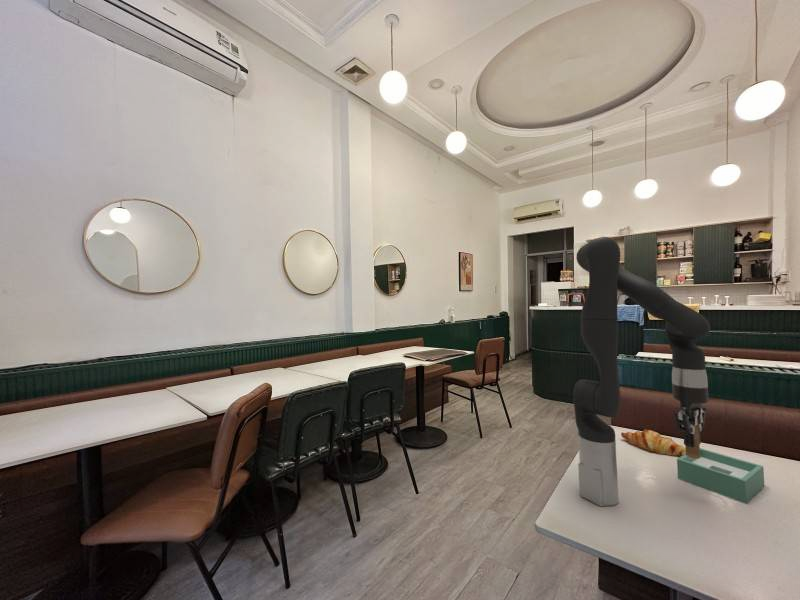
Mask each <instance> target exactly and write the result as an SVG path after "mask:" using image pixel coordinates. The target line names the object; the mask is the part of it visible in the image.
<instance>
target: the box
mask: <svg viewBox="0 0 800 600" xmlns="http://www.w3.org/2000/svg"><path fill="white" fill-rule="evenodd" d="M676 466H677V479H680V480H681V481H684V482H686V483H690V484H692V485H695V486H698V487H700V488H704V489H707V490H709V491H712V492H715V493H717V494H720V495H722V496H725V497H728V498H730V499H734V500H736V501H739V502H742V503H745V504H748V503H749V502H750V501H751V500H753V498H755V496H756V495H757V494H759V493H760V492H761V491H762V490H763V489H764V488H765V487H766V486H765V472H764V469H765V468H764V465H761V464H756V463H754V462H750V461H747V460H743V459H740V458H735V457H732V456H729V455H725V454H722V453H719V452H715V451H711V450H708V449H704V448H701V447H700V458H692V457H689V456H687V455H686V454H685V455H683V456H679V457H678V458H676Z"/></svg>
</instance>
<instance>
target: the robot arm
mask: <svg viewBox="0 0 800 600" xmlns="http://www.w3.org/2000/svg"><path fill="white" fill-rule="evenodd" d="M620 249H621V247H620V245H619V244H618V243H617V241H616V240H615V239H614V238H612V237H610V236H599V237H596V238H594V239H593V240H590V241H589V242H588V243H587V242H586V244H584V245H582V246H581V247H580V248H579V249H578V250H577V252H576V262H577V264H578V265H579V266H580V268H581V269H583V270H585V271H586V272H588V275H589V283H588V290H587V293H586V296H585V299H584V302H583V305H582V308H581V312H580V336H581V339H582V342H583V343H584V345H585V347H586V349H587V350H588V351H589V353H590V354H591V355H592V358H593V359H594V360H595V362H596V364H597V365H596V366H597V367H598V371H599V379H600V381H597V380H591V379H579V380H577V381H576V383H575V384H574V388H573V392H572V393H573V394H572V395H573V399H572V400H573V407H574V408H573V409H574V417H575V425H576V428H577V434H578V454H579V455H578V456H579V462H578V466H577V467H578V482H579V483H578V486H579V497H582V498H584V499H586V500H587V499H588V501H589V500H590V502H592V503H593V504H595V505H597V506H599V507H603V506H606V507H607V506H616V505H618V504H619V499H620V498H619V485H618V483H619V482H618V481H619V480H618V463H617V444H616V442H617V441H616V431H615V429H614V428H613V427H612V426H611V425H610V424H608V423H607V422H605V421H604V420H602V419H601V418H600V417H599V416H603V417H607V418H614V417H616V416H617V415H618V414H619V412H620V409H621V401H622V400H621V386H620V378H619V367H618V366H619V365H618V364H619V363H618V339H619V338H618V337H619V336H618V333H619V332H618V331H619V329H618V328H619V322H618V320H619V319H618V318H619V316H618V291H619V292H620V293H622V294H624V295H625V296H626V297H628V298H629V299H630V300H632V301H633V302H634V303H635V304H636V305H638V306H639V307H640V308H642V310H644V311H645V312H647V314H649V315H651V316H652V317H654V318H656V319H659V320H663V321H665V325H664V331H665V335H666V339H667V343H668V345H669V347H670V350H671V361H672V363H671V365H672V369H671V384H672V385H671V388H672V398H674V400H677V401H678V402H680V403H679V407H678V411H675V412H674V417H675V421H676V425H677V427H678V431H680V432H682V433H683V445H684V446H685V445H686V446H689V447H695V435H694V433H695V426H696V425H697V421H698V426H699V445H701V443H702V442H701V432H702V430H703V429H704V428H705V423H706V416H707V414H706V413H707V407H705V406H702V405H703V404H707V403H708V402H709V388H708V387H709V383H708V375H707V369H706V355H705V351H704V350H703V349H702V348H700V347H699V346H697V344H696V343H695V340H700V339H704V338H705V337H706V336H708V335H709V333H710V331H711V325H710V322H709V321H708V319H706V317H705V316H704V315H702V314H701V313H699V312H698V311H696V310H695V309H693V308H690V307H689V306H687V305H685V304H683V303H681V302H679V301H677V300H676V299H674V298H673V297H672V296H671V295H670V294H669V293H668V292H666V291H664V290H663V289H662V288H660V287H659V286H658V285H656V284H654V283H653V282H651V281H649V280H647V279H645V278H643V277H641V276H639V275H636V274H634V273H632V272H631V271H628V270H626V269H625V268H623V267H622V266H620V265H621V250H620ZM689 421H693V422H689ZM690 426H691V427H690Z"/></svg>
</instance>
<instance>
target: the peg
mask: <svg viewBox="0 0 800 600" xmlns="http://www.w3.org/2000/svg"><path fill="white" fill-rule="evenodd" d="M689 422H693V421H689ZM690 427H691V426H690ZM694 435H695V447H689V446H686V445H684V446H685V447H684V448H685V450H686V455H687V456H689V457H692V458H700V448H701V447H700V444H699V426H698V421H697V425H696V426H695V433H694Z"/></svg>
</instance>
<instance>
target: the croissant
mask: <svg viewBox="0 0 800 600" xmlns="http://www.w3.org/2000/svg"><path fill="white" fill-rule="evenodd" d="M620 434H621V437H622V438H623V439H624V440H626V441H627V442H629V444H631V445H632V446H635V447H637V448H639V449H641V450H644V451H647V452H648V451H649V452H652V453H654V452H655V454H659V453H660V454H661V455H666V456H667V455H668V456H678V457H681V456H683V455H685V454H686V450H685V447H684V446H683V445H681V444H678V443H677V442H675V441H674V440H673V439H672V438H670V437H665V436H662V435H661V434H660V433H659V432H656V431H654V430H650V429H646V428H645V429H643V431H640V430H636V431H635V432H631V431H630V432H629V431H628V432H627V431H626V432H621V433H620Z"/></svg>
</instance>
